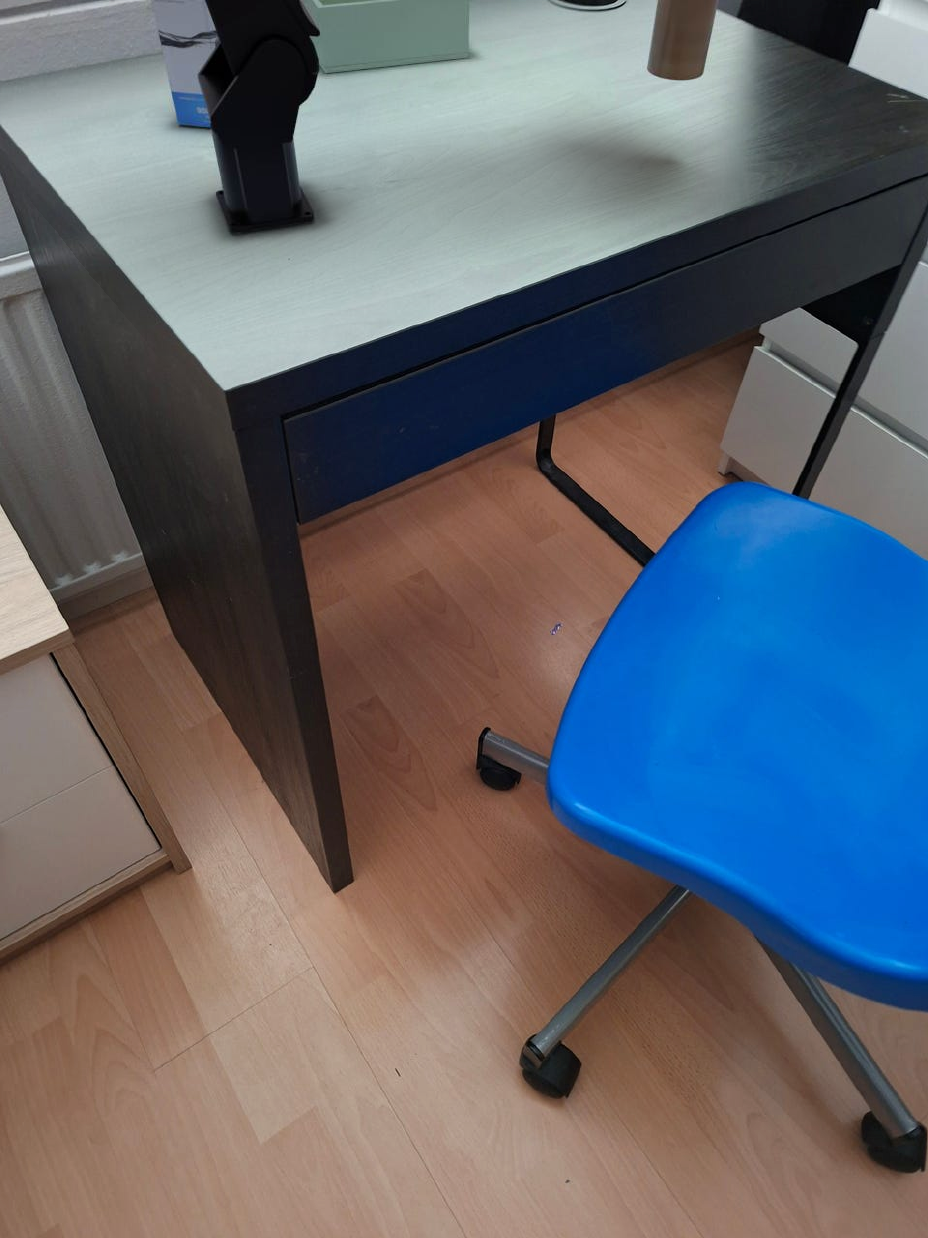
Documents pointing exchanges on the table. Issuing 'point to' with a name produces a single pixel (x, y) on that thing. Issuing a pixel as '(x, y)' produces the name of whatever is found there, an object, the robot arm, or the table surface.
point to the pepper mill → (681, 38)
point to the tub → (388, 32)
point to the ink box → (186, 54)
